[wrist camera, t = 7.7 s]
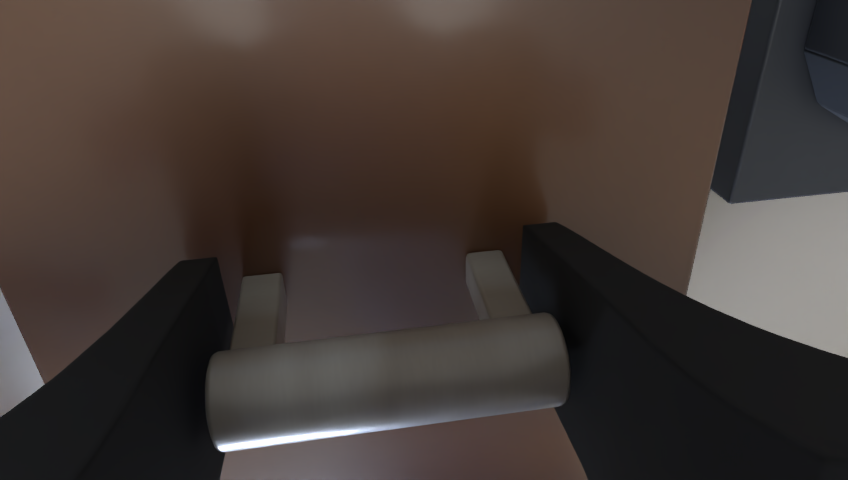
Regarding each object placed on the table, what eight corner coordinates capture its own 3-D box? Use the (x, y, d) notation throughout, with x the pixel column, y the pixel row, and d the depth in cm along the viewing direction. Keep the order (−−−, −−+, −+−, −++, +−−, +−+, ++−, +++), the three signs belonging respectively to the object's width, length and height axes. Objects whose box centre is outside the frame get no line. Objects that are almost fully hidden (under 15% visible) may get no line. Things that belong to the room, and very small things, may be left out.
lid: (636, 458, 16) (721, 615, 13) (130, 533, 15) (73, 731, 11) (746, -78, 10) (975, -51, 6) (-121, -33, 8) (-416, 30, 5)
